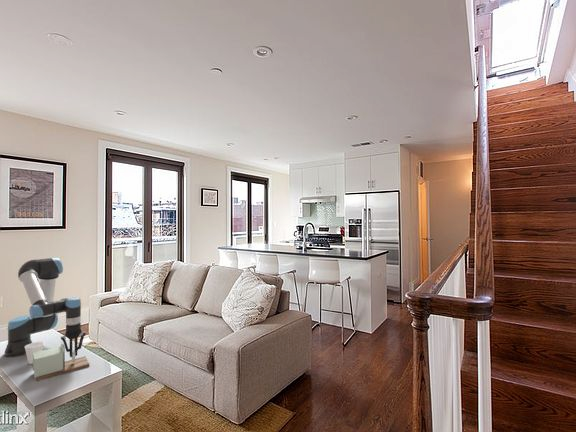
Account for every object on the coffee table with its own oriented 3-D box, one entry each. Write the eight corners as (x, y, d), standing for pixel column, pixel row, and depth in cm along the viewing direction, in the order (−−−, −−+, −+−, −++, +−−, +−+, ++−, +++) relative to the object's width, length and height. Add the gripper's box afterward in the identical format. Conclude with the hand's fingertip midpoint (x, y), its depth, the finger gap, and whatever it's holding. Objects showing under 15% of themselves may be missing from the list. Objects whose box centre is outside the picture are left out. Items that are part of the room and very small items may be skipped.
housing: (33, 370, 182) (33, 348, 182) (62, 362, 191) (62, 341, 191) (34, 377, 174) (34, 354, 174) (64, 369, 183) (64, 347, 183)
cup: (33, 366, 190) (33, 348, 190) (20, 365, 192) (20, 347, 192) (48, 359, 200) (48, 342, 200) (36, 357, 202) (36, 341, 202)
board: (35, 371, 184) (35, 363, 184) (85, 358, 201) (85, 351, 201) (37, 380, 173) (37, 372, 173) (89, 366, 190) (89, 359, 190)
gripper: (61, 327, 183) (61, 367, 183) (86, 322, 192) (87, 360, 192) (59, 324, 189) (59, 362, 189) (84, 319, 198) (84, 356, 198)
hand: (73, 361), depth 191 cm, fingers closed
